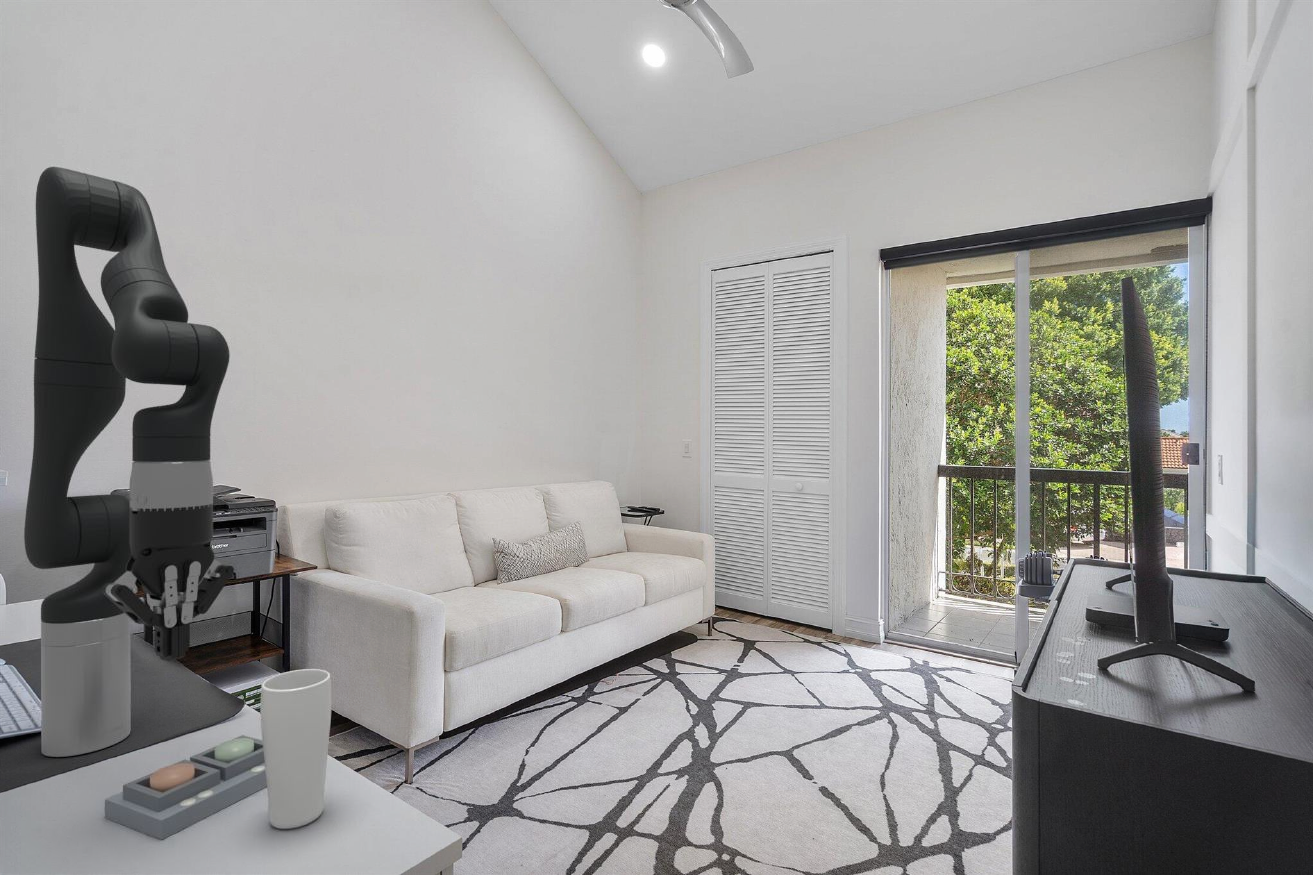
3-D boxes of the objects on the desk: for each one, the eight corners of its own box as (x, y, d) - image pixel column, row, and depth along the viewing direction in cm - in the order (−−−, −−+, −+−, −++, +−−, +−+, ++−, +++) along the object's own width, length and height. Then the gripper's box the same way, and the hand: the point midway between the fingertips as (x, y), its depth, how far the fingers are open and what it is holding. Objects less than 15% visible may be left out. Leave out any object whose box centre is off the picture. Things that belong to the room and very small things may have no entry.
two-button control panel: (104, 817, 73) (104, 785, 73) (239, 757, 87) (239, 730, 87) (161, 839, 69) (161, 805, 69) (293, 772, 83) (293, 744, 83)
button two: (141, 793, 74) (141, 776, 74) (180, 776, 77) (180, 760, 77) (164, 801, 72) (164, 784, 72) (202, 783, 76) (202, 767, 76)
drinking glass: (302, 839, 69) (301, 693, 69) (245, 831, 70) (244, 688, 70) (345, 804, 76) (344, 670, 76) (292, 797, 77) (292, 666, 77)
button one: (206, 764, 80) (206, 749, 80) (239, 750, 84) (239, 735, 84) (228, 771, 78) (228, 755, 78) (261, 756, 82) (261, 741, 82)
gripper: (211, 495, 82) (210, 637, 82) (82, 506, 70) (82, 672, 70) (252, 498, 79) (252, 645, 79) (125, 509, 67) (124, 683, 67)
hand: (172, 658), depth 75 cm, fingers closed
